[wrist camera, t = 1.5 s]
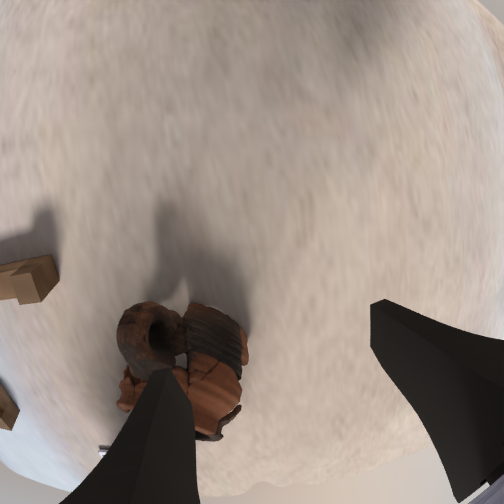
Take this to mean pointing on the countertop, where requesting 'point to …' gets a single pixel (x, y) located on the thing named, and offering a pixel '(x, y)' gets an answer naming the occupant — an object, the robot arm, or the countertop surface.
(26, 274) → the wooden corner bracket
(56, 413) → the countertop surface
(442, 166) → the countertop surface
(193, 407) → the brown piece
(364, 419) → the countertop surface
